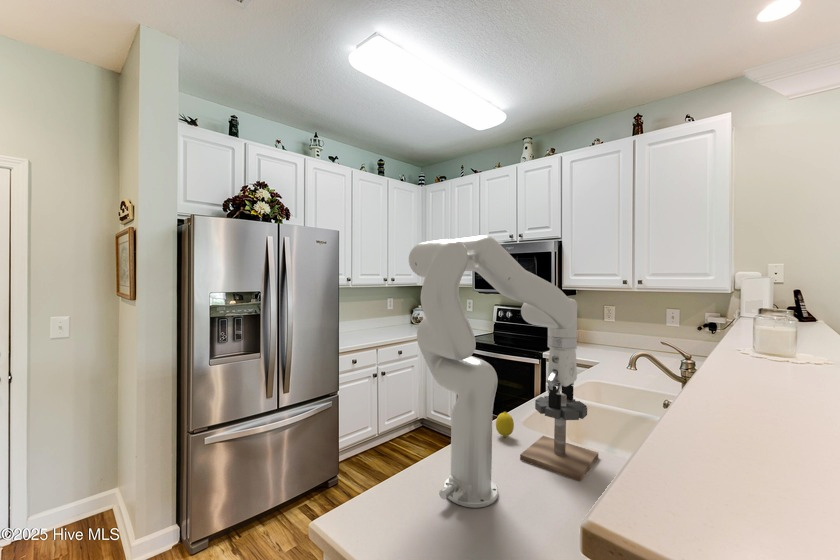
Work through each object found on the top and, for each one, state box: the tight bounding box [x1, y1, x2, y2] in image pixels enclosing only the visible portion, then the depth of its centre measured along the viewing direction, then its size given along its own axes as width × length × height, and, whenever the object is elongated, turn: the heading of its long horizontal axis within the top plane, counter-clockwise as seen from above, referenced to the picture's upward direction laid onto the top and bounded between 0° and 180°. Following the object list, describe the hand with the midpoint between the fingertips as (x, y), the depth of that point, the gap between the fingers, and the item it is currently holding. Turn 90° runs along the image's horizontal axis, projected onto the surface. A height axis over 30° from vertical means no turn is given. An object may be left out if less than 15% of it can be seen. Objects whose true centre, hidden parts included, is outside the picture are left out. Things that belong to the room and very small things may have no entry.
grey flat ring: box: [534, 395, 588, 421], centre depth 102 cm, size 13×13×2 cm
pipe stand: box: [519, 392, 599, 482], centre depth 103 cm, size 16×16×18 cm
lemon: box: [495, 411, 515, 438], centre depth 116 cm, size 6×6×8 cm
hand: (561, 403), depth 103 cm, fingers open, 9 cm apart
